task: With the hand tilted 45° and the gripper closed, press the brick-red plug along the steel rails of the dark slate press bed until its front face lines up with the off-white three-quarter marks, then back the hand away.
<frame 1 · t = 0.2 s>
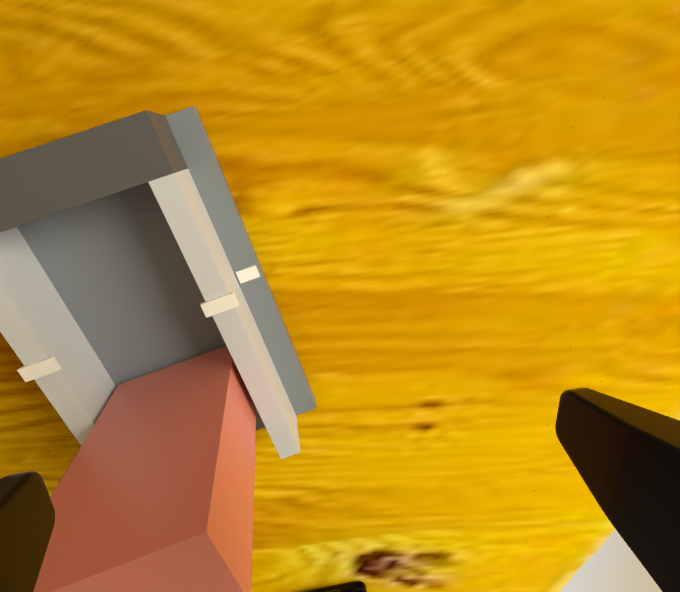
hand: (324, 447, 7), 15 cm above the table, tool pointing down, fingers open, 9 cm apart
press bed: (159, 310, 21), on the table
plug: (166, 464, 16), point 7 cm above the table, slide at 0.0 cm
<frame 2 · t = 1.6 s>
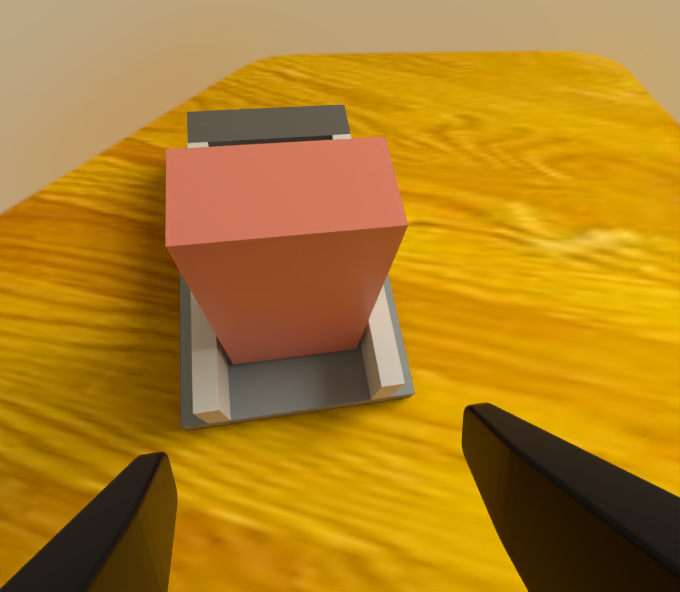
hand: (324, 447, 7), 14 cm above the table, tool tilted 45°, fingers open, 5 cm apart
press bed: (285, 269, 24), on the table
plug: (290, 279, 16), point 7 cm above the table, slide at 0.0 cm
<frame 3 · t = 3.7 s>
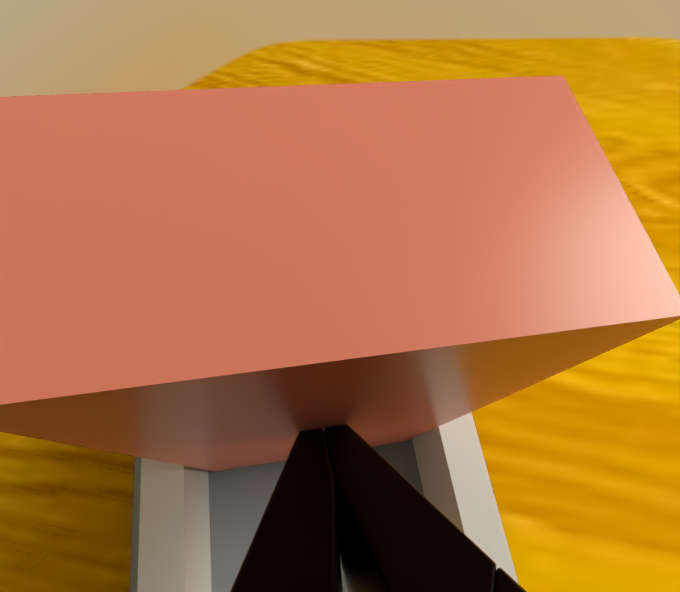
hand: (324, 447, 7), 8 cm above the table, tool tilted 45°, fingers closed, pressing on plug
press bed: (299, 349, 16), on the table
plug: (311, 362, 9), point 7 cm above the table, slide at 1.6 cm, touching gripper
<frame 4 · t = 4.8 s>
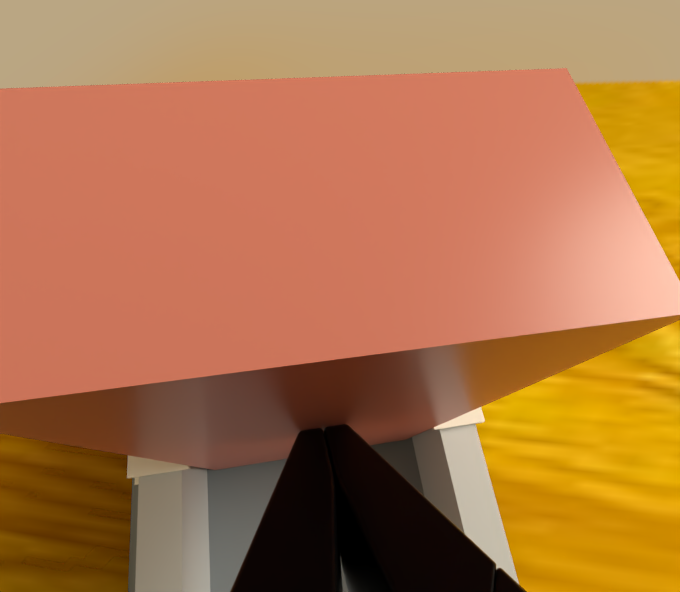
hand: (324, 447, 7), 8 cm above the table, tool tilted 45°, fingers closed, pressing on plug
press bed: (313, 464, 14), on the table
plug: (310, 361, 9), point 7 cm above the table, slide at 5.7 cm, touching gripper
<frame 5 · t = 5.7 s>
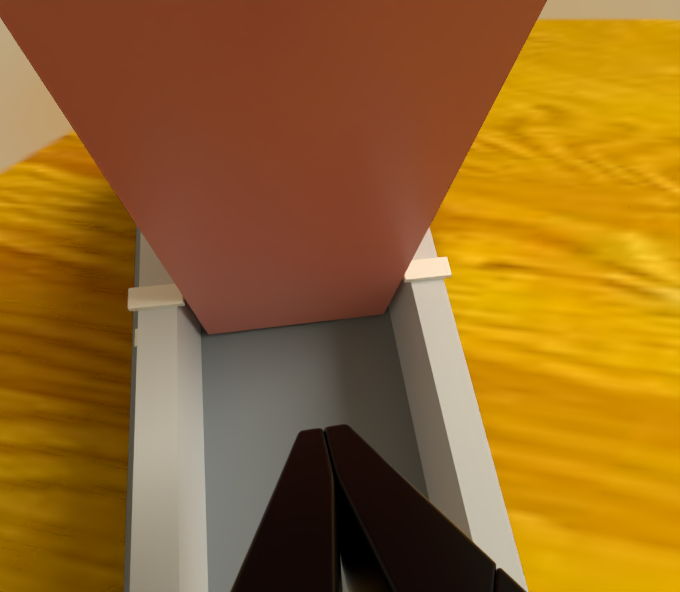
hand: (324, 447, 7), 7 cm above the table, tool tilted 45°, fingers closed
press bed: (299, 341, 15), on the table
plug: (290, 186, 10), point 7 cm above the table, slide at 5.7 cm
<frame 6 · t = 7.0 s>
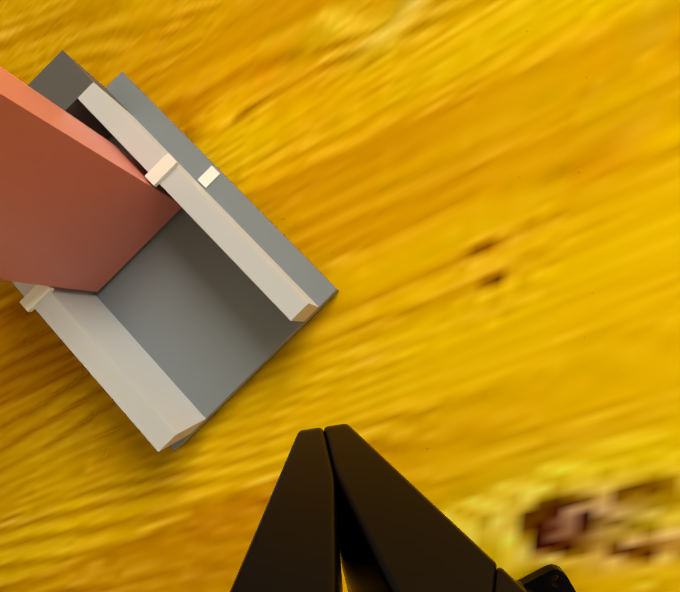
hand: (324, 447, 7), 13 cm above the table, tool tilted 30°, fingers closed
press bed: (157, 256, 22), on the table
plug: (29, 193, 15), point 7 cm above the table, slide at 5.7 cm
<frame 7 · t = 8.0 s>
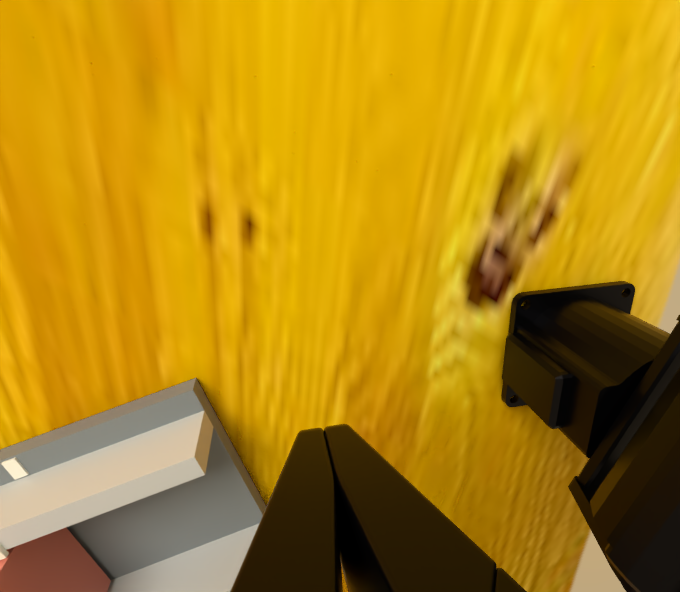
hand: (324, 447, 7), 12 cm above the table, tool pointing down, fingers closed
press bed: (93, 518, 21), on the table
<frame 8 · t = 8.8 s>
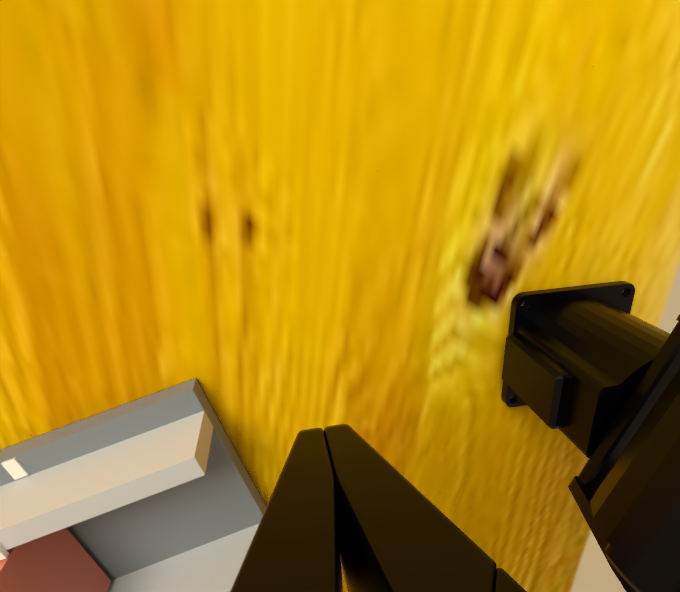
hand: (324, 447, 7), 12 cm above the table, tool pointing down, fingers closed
press bed: (93, 518, 21), on the table
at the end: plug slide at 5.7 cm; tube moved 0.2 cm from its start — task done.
